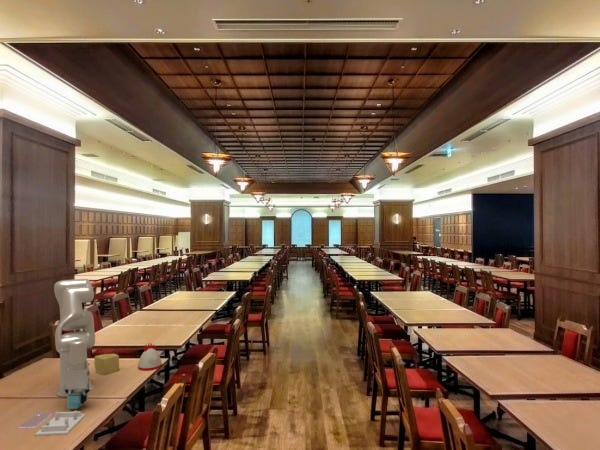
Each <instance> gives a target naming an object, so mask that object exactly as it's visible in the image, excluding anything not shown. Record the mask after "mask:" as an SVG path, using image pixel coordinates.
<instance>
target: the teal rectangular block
mask: <svg viewBox="0 0 600 450" xmlns="http://www.w3.org/2000/svg"><path fill="white" fill-rule="evenodd" d="M88 387H89V386H87V389H88ZM88 393H89V392H88ZM88 393H87V400H88ZM82 395H83V393H82V390H74V391H73V392H72V393H70V394H69V395H68V396H67V397H66V399H67V400H66V401H67V403H66V404H67V405H66V406H67V407H66V409H67V410H73V409H75V410H78V409H80V408H81V407H82V406H83V404H82Z"/></svg>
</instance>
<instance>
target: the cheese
mask: <svg viewBox="0 0 600 450" xmlns="http://www.w3.org/2000/svg"><path fill="white" fill-rule="evenodd" d="M93 364H94V370H95V373H97V374H99V375H102V376H106V375H107V376H108V375H110V374H113V373H117V372H119V371H120V357H119V355H118V354H116V353H104V354H99V355H95V356H94V363H93Z"/></svg>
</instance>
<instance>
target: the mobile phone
mask: <svg viewBox="0 0 600 450" xmlns="http://www.w3.org/2000/svg"><path fill="white" fill-rule="evenodd" d="M51 415H53V412H49V411H48V412H36V413H35V414H33V416H31V417H30V418H28V419H27V420H26V421H25V422H22V424H21V425H20V426H18V429H22V430H23V429H35V428H37V427H39V425H40V424H41V425H42V423H43V422H45V421H46V420H47V419H49V418H50V417H51Z"/></svg>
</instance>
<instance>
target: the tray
mask: <svg viewBox="0 0 600 450" xmlns="http://www.w3.org/2000/svg"><path fill="white" fill-rule="evenodd" d="M81 412H82V411H81V410H79V411H78V409H75V410H74V411H59V410H58V411H54V417H53V418H51V419H49V418H47V419H46V420H45V425H41V426H40V429H39V430H38V431H37V432H36V433H34V436H35V437H43V436H59V435H60V436H61V435H63V436H64V435H68V434H69V433H70V432H71V431H72V430H73V429H74V428H75V427H76V426H77V425H78V424H79V423H80V422H81V421H82V420H83V419H84V418H85V417H86V415H87V413H81Z"/></svg>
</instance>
